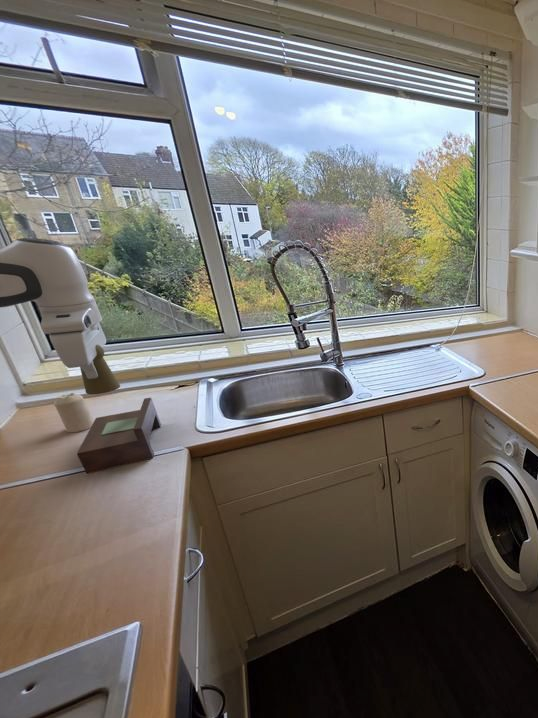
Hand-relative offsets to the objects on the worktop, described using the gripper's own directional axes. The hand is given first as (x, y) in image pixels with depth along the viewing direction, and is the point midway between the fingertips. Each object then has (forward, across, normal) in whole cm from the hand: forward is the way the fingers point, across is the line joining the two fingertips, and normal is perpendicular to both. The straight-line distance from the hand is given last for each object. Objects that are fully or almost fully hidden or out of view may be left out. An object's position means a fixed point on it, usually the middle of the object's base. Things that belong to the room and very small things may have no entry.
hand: (96, 373), depth 95 cm
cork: (+4, 0, 0) cm, 4 cm away
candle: (+21, -20, -12) cm, 31 cm away
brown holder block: (+21, -1, 0) cm, 21 cm away
